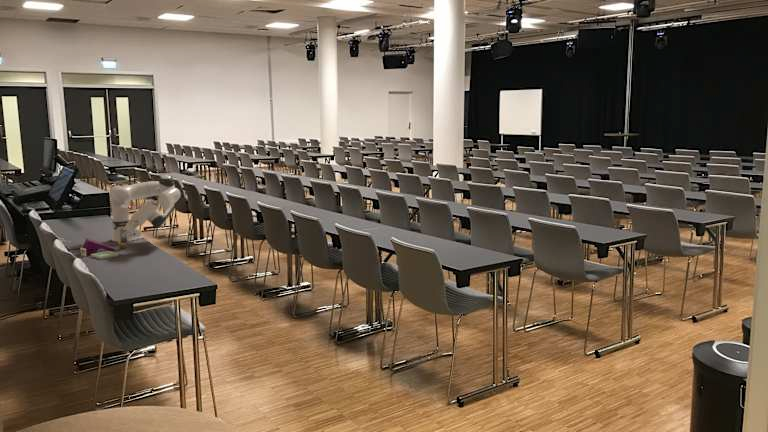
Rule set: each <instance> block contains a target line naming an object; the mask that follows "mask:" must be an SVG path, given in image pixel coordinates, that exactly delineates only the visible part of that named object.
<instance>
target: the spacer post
mask: <svg viewBox="0 0 768 432" xmlns="http://www.w3.org/2000/svg"><path fill="white" fill-rule="evenodd" d="M125 231H126V229H120V240H121V243H126V244H127V243H128V241H127V235H125V236H124V237H123V236H122V234H123V233H124V232H125Z"/></svg>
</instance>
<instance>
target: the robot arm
mask: <svg viewBox="0 0 768 432" xmlns="http://www.w3.org/2000/svg"><path fill="white" fill-rule="evenodd" d="M181 195H182V193H181V191H180V189H179V188H177V187H176V186H175V179H174V177H173V176H171V175H167V174H165V175H162V176H160V177H159V179H158V180H157V181H155V180H151V181H150V180H149V181H144V182H138V183H133V184H129V185H126V186H125V185H124V186H122V185H119V184H118V185H113V186H112V187H111V188H110V190H109V200H110V206H111V210H112V211H111V213H112V221H111V222H112V223H111V224H112V237H111V238H112V239H111V241H112V242H119V238H120V229H126V231H125V232H124V233H123V234H122V236H123V237H124V236H125V235H127V242H132V240H133V241H136V240H141V239H142V240H143V239H145V238H146V237H145V235H142V233H141V232H142V231H141V230H140V228H138V227H139V226H140V227H143V225H144V224H145V223H146V222H147V221H148V223H150V224H151V225H152V227H154V228H161V227H162V226H164V225H165V223H166V222H167V219H168V218H169V217H170V216H171V214H172V213H173V212H174V210H175V208H176V207H175V203H177V202H178V201H179V199H180V198H181V197H182V196H181ZM154 196H158V199H157V201H158V202H157V201H156V200H155V199H152V198H151V197H154ZM149 197H150V199H148V200H146V201H145V202H143V203H142V204H141V205H140V206H139V208H138V209H137V210H136V211H135V212H134V213H133V214H132V215H130V210H129V209H130V208H129V206H128V202H131V201H134V200H138V199H143V198H145V199H146V198H149ZM159 207H161V208H162V210H163V213H162V212H161V211H160V210H159V209H158V208H159Z"/></svg>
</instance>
